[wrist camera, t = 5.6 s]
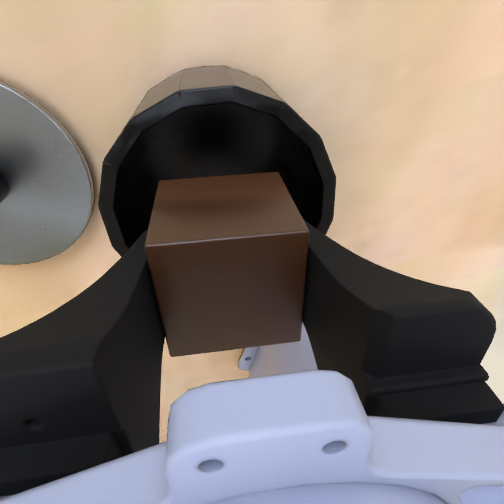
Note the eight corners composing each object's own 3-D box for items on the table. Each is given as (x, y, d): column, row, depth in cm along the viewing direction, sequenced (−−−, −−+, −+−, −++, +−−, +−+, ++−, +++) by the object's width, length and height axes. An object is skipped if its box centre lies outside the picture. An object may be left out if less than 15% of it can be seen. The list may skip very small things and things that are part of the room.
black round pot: (266, 249, 24) (286, 313, 19) (115, 216, 21) (89, 282, 16) (327, 101, 19) (376, 134, 14) (141, 34, 17) (115, 44, 11)
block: (276, 266, 16) (301, 342, 12) (176, 275, 15) (170, 358, 11) (278, 171, 13) (310, 230, 9) (158, 179, 13) (143, 245, 9)
